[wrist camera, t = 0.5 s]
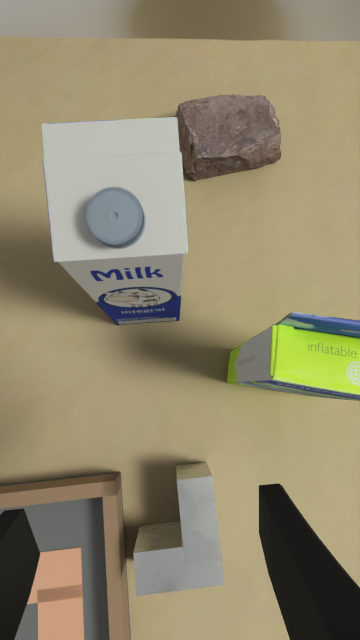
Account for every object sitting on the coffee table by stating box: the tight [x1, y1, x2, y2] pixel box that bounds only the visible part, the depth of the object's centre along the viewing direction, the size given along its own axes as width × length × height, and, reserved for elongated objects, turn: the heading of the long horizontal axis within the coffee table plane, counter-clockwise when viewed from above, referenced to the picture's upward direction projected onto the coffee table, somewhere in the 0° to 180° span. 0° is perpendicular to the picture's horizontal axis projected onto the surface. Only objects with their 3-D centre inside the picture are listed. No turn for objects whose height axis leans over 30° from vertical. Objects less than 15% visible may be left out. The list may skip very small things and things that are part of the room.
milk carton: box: [42, 117, 188, 325], centre depth 25 cm, size 7×7×20 cm
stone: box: [175, 94, 281, 181], centre depth 37 cm, size 12×9×5 cm
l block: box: [133, 462, 225, 596], centre depth 28 cm, size 8×7×5 cm
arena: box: [0, 472, 131, 640], centre depth 28 cm, size 20×16×3 cm
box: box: [227, 312, 360, 401], centre depth 25 cm, size 10×4×17 cm, turn 82°
